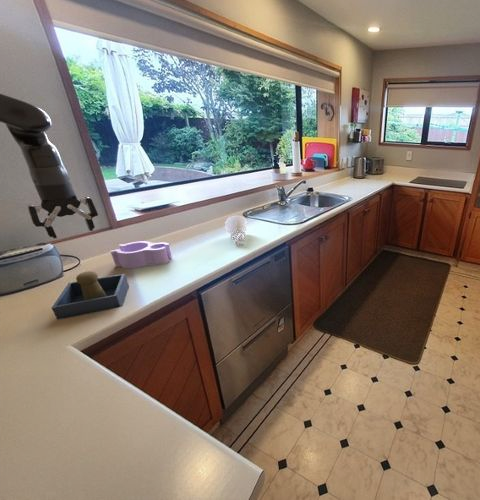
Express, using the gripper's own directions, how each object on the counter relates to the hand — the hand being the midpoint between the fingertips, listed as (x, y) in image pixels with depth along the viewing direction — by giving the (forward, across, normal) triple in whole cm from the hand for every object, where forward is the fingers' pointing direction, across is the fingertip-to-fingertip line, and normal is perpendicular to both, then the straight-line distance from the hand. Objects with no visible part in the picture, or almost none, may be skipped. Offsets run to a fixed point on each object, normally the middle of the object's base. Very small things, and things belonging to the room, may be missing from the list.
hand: (73, 233), depth 87 cm
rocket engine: (+24, -61, -12) cm, 66 cm away
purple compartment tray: (+24, -21, -19) cm, 37 cm away
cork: (+24, +1, +2) cm, 24 cm away
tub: (+24, +1, +2) cm, 24 cm away
